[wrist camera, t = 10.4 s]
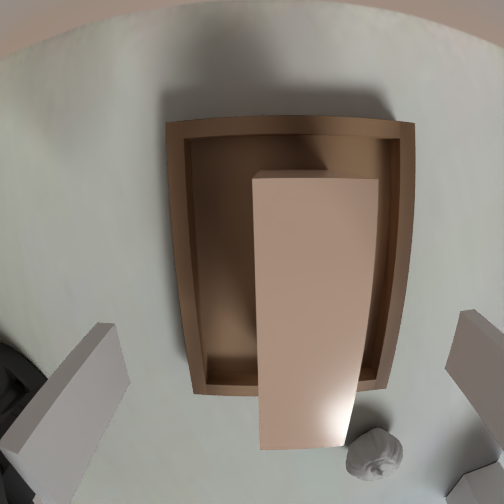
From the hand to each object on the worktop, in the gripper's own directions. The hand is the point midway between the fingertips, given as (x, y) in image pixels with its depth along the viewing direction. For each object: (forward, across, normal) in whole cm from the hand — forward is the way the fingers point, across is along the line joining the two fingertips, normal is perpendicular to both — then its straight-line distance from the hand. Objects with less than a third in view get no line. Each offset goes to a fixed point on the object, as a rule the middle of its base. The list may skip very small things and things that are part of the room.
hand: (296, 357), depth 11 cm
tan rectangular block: (+10, +1, 0) cm, 10 cm away
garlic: (+10, +9, -18) cm, 23 cm away
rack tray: (+10, +1, 0) cm, 10 cm away
